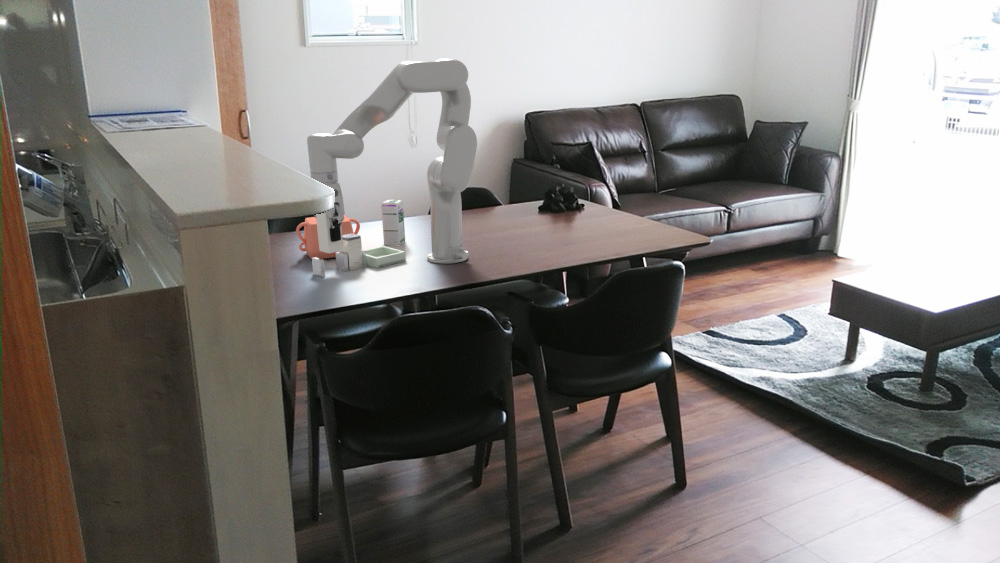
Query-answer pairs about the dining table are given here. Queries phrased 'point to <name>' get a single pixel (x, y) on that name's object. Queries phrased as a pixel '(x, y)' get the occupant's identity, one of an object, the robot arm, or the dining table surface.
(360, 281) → the dining table surface
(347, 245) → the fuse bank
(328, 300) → the dining table surface
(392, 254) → the tray
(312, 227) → the teapot
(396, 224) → the syrup box
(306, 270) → the dining table surface
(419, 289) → the dining table surface
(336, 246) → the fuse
